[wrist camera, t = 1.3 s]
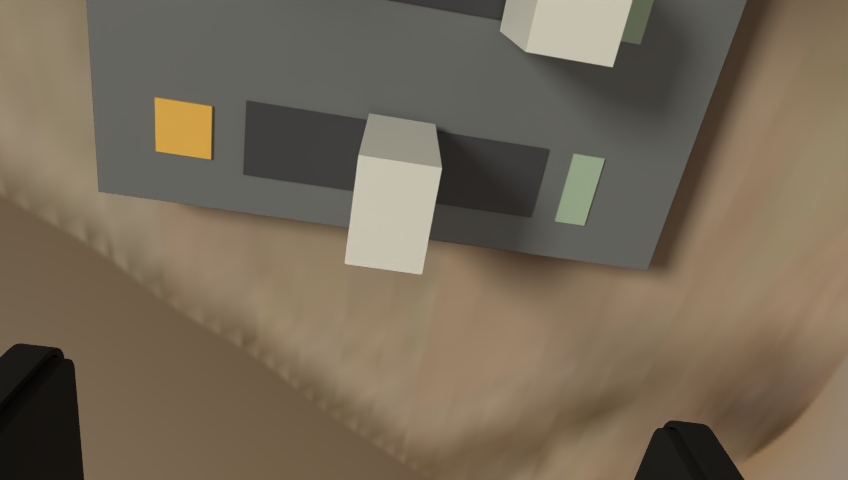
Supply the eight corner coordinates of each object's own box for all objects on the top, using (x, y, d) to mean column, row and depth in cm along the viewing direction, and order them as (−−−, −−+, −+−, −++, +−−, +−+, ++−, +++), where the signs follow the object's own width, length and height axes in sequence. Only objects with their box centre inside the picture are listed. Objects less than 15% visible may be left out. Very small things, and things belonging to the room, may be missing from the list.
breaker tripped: (369, 113, 21) (358, 154, 17) (435, 124, 22) (441, 167, 17) (357, 203, 23) (344, 263, 18) (419, 212, 23) (422, 274, 19)
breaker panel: (117, -199, 20) (70, -224, 17) (731, -74, 22) (778, -79, 19) (131, 166, 26) (97, 192, 23) (623, 240, 28) (647, 271, 25)
